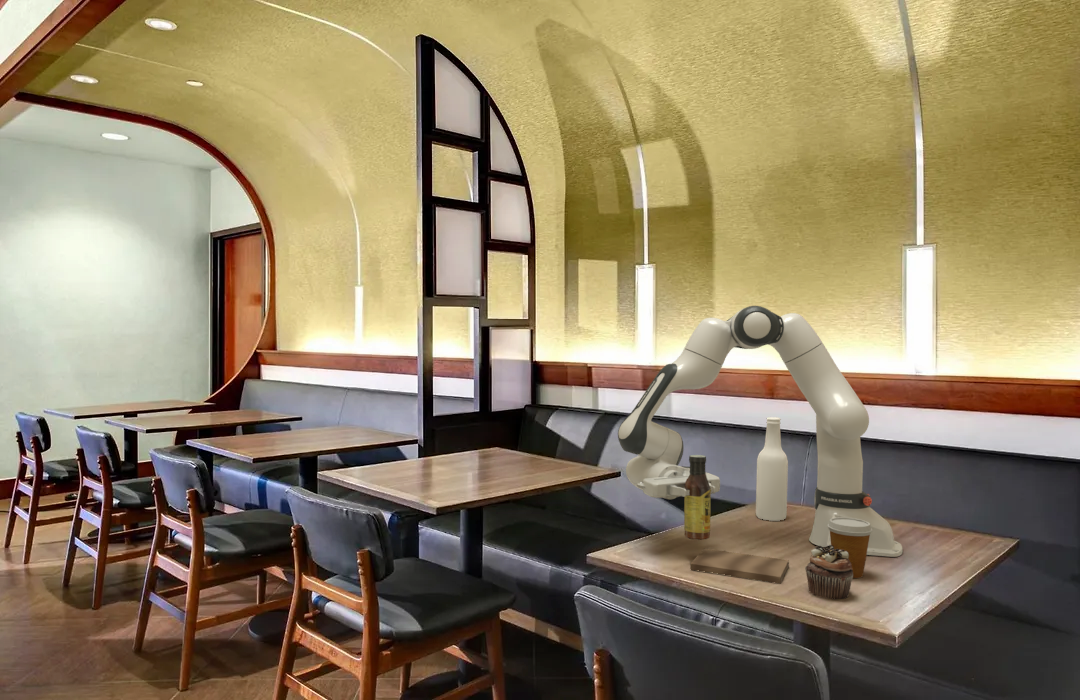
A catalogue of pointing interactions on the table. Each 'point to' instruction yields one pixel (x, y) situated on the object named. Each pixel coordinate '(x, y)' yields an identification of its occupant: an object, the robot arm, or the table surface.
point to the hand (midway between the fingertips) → (700, 491)
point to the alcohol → (772, 475)
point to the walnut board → (741, 565)
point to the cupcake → (829, 573)
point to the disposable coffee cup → (851, 540)
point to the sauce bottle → (697, 500)
